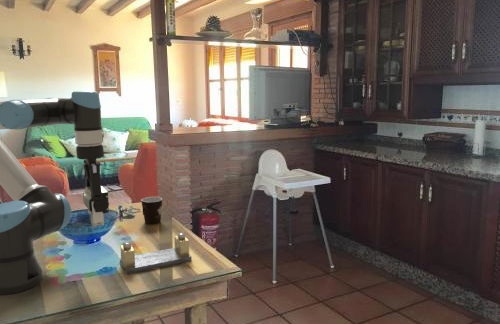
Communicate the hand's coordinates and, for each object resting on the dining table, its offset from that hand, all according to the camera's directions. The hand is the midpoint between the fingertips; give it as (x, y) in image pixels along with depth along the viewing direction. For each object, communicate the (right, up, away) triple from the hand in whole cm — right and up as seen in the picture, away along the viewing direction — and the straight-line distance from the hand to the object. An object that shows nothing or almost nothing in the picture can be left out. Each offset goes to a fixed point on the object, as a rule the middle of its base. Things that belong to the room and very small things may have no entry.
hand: (95, 217), depth 130 cm
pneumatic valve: (0, -2, 0) cm, 2 cm away
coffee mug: (+5, -9, +51) cm, 52 cm away
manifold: (+16, -16, +12) cm, 25 cm away
